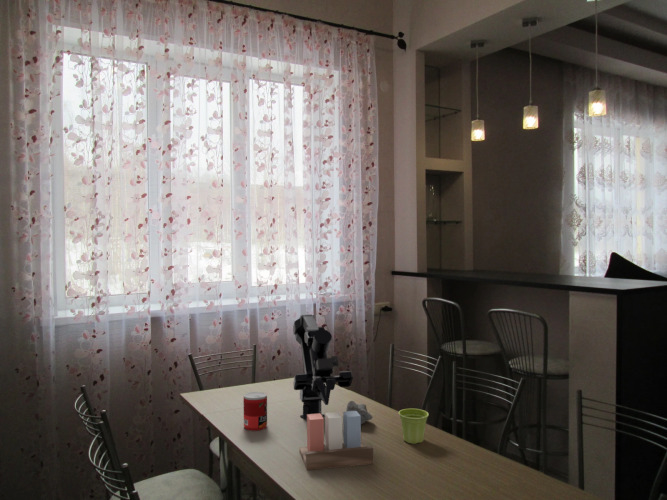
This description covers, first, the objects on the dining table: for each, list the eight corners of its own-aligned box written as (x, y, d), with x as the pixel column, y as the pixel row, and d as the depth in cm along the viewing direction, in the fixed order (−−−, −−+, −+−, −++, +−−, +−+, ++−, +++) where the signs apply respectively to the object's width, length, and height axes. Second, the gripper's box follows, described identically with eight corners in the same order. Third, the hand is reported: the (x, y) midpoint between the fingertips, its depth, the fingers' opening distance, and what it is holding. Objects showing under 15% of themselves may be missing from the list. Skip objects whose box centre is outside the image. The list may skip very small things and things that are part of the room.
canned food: (263, 431, 177) (262, 398, 177) (240, 430, 179) (239, 397, 178) (270, 424, 185) (270, 392, 184) (248, 422, 186) (248, 391, 186)
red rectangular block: (307, 448, 158) (307, 414, 158) (320, 446, 159) (320, 413, 159) (310, 454, 153) (309, 419, 153) (323, 453, 154) (323, 418, 154)
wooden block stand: (299, 452, 160) (299, 437, 160) (361, 446, 164) (361, 432, 164) (306, 470, 147) (306, 453, 147) (373, 463, 151) (373, 447, 151)
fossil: (379, 425, 183) (379, 401, 183) (359, 430, 178) (358, 406, 178) (358, 416, 192) (358, 394, 192) (338, 421, 187) (338, 398, 187)
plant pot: (430, 437, 172) (430, 410, 172) (426, 447, 163) (425, 419, 163) (402, 433, 175) (401, 407, 175) (395, 444, 166) (395, 416, 166)
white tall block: (325, 446, 159) (325, 412, 159) (338, 445, 160) (338, 412, 160) (328, 452, 154) (328, 418, 154) (342, 451, 155) (342, 417, 155)
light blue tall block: (343, 444, 160) (343, 411, 160) (356, 443, 161) (356, 410, 161) (347, 451, 156) (347, 416, 155) (360, 450, 156) (360, 415, 156)
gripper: (294, 348, 170) (299, 393, 159) (351, 346, 174) (360, 389, 163) (291, 368, 177) (296, 411, 167) (345, 364, 181) (354, 407, 171)
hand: (326, 404), depth 167 cm, fingers closed
